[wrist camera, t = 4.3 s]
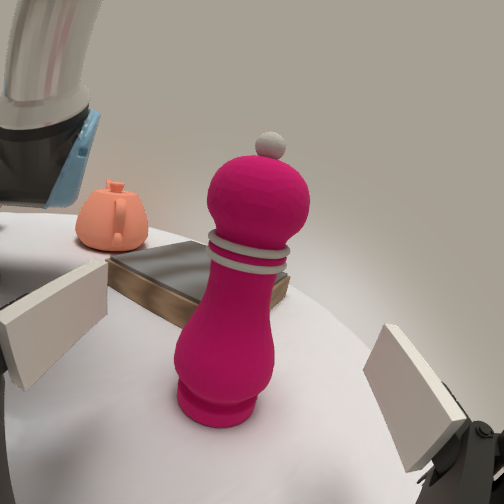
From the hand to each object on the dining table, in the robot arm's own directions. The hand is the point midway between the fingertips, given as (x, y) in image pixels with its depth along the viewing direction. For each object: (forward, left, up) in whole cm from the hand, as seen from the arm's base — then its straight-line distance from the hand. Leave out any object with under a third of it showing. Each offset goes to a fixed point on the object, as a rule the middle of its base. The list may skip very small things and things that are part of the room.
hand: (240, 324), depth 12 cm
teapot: (-42, +25, -11) cm, 50 cm away
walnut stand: (-16, +22, -11) cm, 29 cm away
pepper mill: (-3, +5, -11) cm, 13 cm away
